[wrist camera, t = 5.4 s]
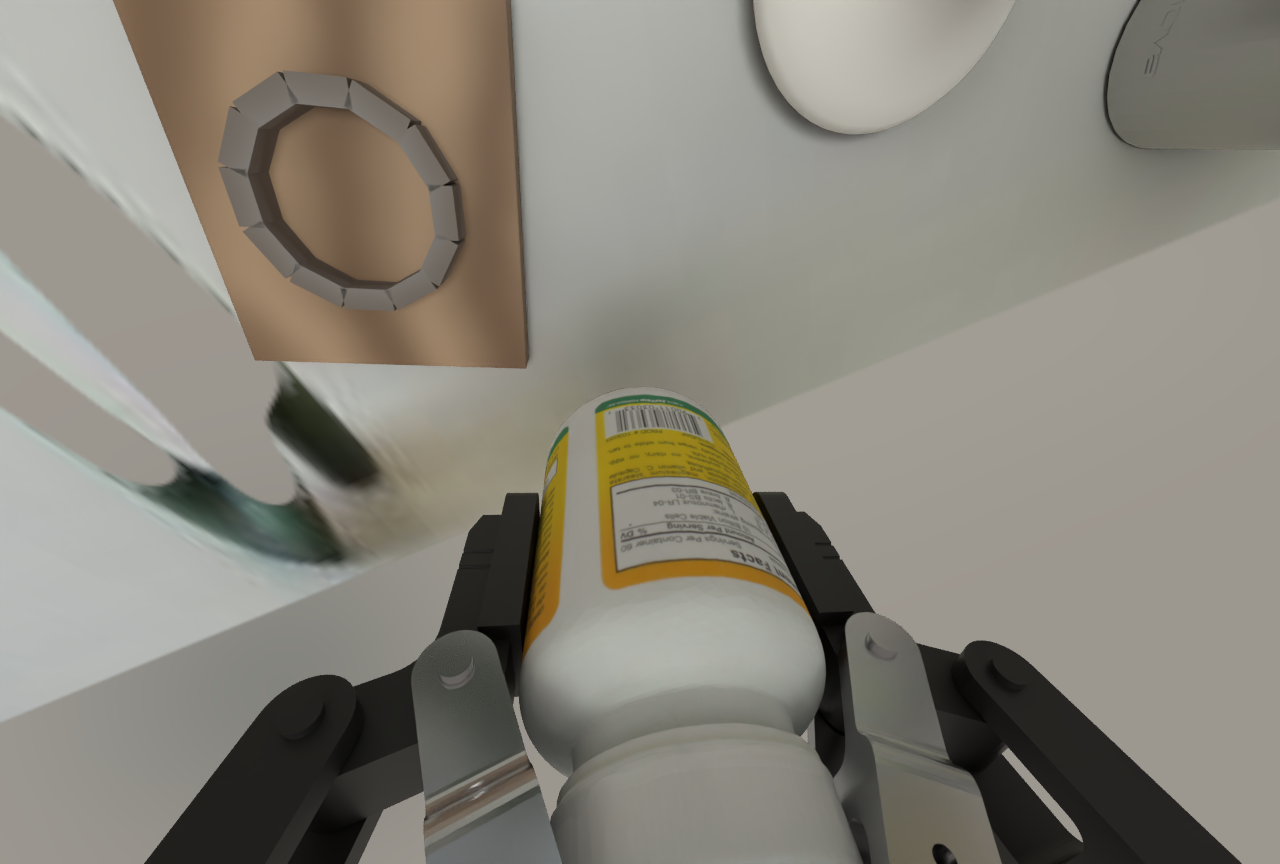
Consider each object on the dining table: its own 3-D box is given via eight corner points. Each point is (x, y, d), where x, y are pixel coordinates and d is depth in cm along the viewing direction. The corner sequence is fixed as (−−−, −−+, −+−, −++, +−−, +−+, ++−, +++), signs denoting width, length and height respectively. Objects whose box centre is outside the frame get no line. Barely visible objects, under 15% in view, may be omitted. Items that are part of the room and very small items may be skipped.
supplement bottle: (664, 343, 12) (855, 790, 4) (753, 473, 14) (975, 896, 6) (506, 449, 13) (377, 963, 5) (614, 551, 15) (650, 991, 7)
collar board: (510, -4, 19) (499, -28, 16) (528, 358, 27) (523, 379, 24) (121, -58, 17) (39, -94, 14) (271, 349, 25) (236, 372, 23)
